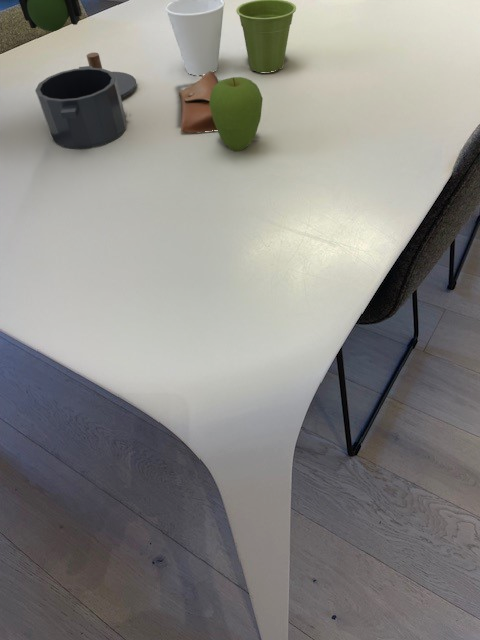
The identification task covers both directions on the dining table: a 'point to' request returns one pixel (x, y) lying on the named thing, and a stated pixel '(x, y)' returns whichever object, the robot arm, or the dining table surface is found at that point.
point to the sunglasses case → (198, 105)
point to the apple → (236, 111)
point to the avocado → (48, 13)
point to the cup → (197, 32)
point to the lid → (123, 79)
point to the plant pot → (266, 32)
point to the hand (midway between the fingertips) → (55, 22)
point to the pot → (82, 107)
